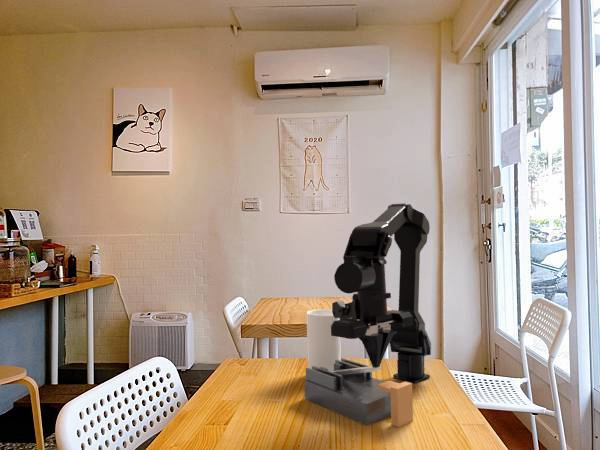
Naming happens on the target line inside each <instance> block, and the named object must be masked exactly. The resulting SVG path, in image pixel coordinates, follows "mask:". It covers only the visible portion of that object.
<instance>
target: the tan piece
mask: <svg viewBox="0 0 600 450" xmlns="http://www.w3.org/2000/svg"><path fill="white" fill-rule="evenodd" d="M377 388H378V389H381V390H384V391H387V392H390V393H391V417H390V419H391V420H390V422H391V423H390V425H392V426H394V427H396V428H400V427H402V426H404V425H406V424H409V423H411V422H413V421H414V407H413V403H414V402H413V401H414V400H413V383H412V382H409V381H405V380H404V381H402V382H400V383H399V382H396V381H392V380H386V381H384V382H383V383H381V384H378V385H377Z"/></svg>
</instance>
